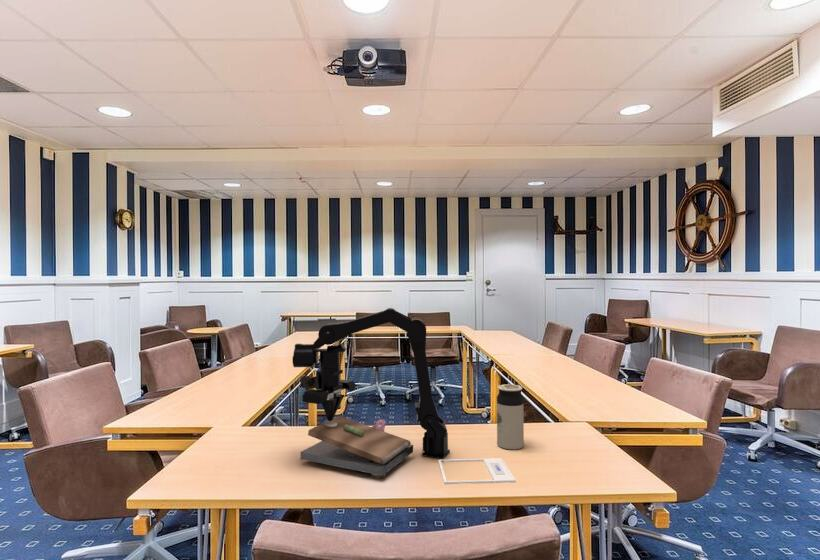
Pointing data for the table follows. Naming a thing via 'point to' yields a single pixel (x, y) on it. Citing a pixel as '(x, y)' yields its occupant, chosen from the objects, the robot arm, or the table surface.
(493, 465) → the photo frame
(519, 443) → the travel mug
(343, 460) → the dark grey flat box
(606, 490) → the table surface
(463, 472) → the table surface
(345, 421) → the plate
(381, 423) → the purple lumpy shape
